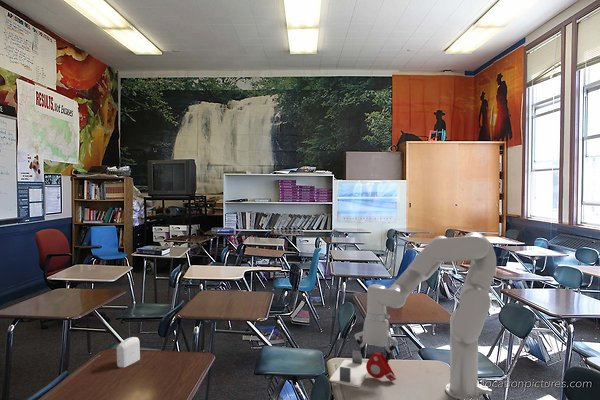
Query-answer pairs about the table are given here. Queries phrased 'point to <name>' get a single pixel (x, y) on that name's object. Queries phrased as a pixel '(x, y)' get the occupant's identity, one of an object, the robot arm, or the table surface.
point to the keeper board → (351, 371)
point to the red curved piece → (379, 367)
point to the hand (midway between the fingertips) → (375, 358)
